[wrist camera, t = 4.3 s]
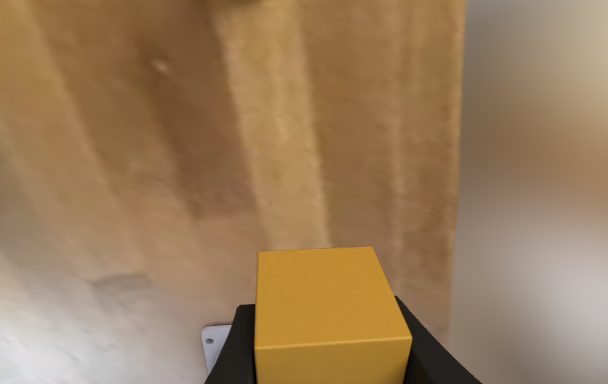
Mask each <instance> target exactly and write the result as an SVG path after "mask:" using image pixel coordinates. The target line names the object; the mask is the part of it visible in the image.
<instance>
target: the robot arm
mask: <svg viewBox="0 0 608 384" xmlns="http://www.w3.org/2000/svg"><path fill="white" fill-rule="evenodd" d="M394 297H395V299H396V302H397V304H398V306H399V308H400V311H401V313H402V315H403V317H404V320H405V322H406V324H407V326H408V329H409V331H410V333H411V335H412V343H411V347H410V352H409V357H408V362H407V367H406V371H405V376H404V381H403V384H482V383H481V382H480V381H479V380H477V379H476V378H475V377H474V376H473V375H472V374H471V373H470V372H469V371H467V370H466V369H465V368H464V367H463V366H462V365H461V364H460V363H459V362H458V361H457V360H456V359H455V358H454V357H453V356H452V355H451V354H450V353H449V352H448V351H447V350H446V349H445V348H444V347H443V346H442V345H441V344H440V343H439V342H438V341H437V340H436V339H435V338H434V337H433V336H432V335H431V334H430V333H429V332H428V331H427V329H426V328H425V327H424V326H423V325H422V324H421V323H420V322H419V321H418V320H417V318H416V317H415V316H414V315H413V314H412V313H411V312H410V310H409V309H408V308H407V307H406V306H405V305H404V304H403V302H402V301H401V300H400V299H399V298H398V297H397V296H394ZM255 306H256V304H247V305H240V306H239V307H237V310H236V314H235V317H234V320H233V323H232V325H222V326H208V327H205V328H203V330H202V333H201V339H202V344H203V350H204V356H205V361H206V367H207V373H208V378H207V380H206V381H205V383H204V384H257V382H256V368H255V354H254V336H255Z"/></svg>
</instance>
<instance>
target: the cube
mask: <svg viewBox="0 0 608 384" xmlns="http://www.w3.org/2000/svg"><path fill="white" fill-rule="evenodd" d="M411 343H412V335H411V333H410V331H409V329H408V326H407V324H406V322H405V320H404V317H403V315H402V313H401V311H400V308H399V306H398V304H397V302H396V299H395V297H394V295H393V293H392V290H391V288H390V286H389V284H388V281H387V279H386V277H385V275H384V272H383V270H382V268H381V266H380V263H379V261H378V259H377V257H376V254H375V252H374V250H373V248H372V247H371V246H367V247H345V248H323V249H301V250H279V251H259V252H258V253H257V277H256V306H255V336H254V354H255V368H256V382H257V384H403V381H404V376H405V371H406V367H407V362H408V357H409V352H410V347H411Z"/></svg>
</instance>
